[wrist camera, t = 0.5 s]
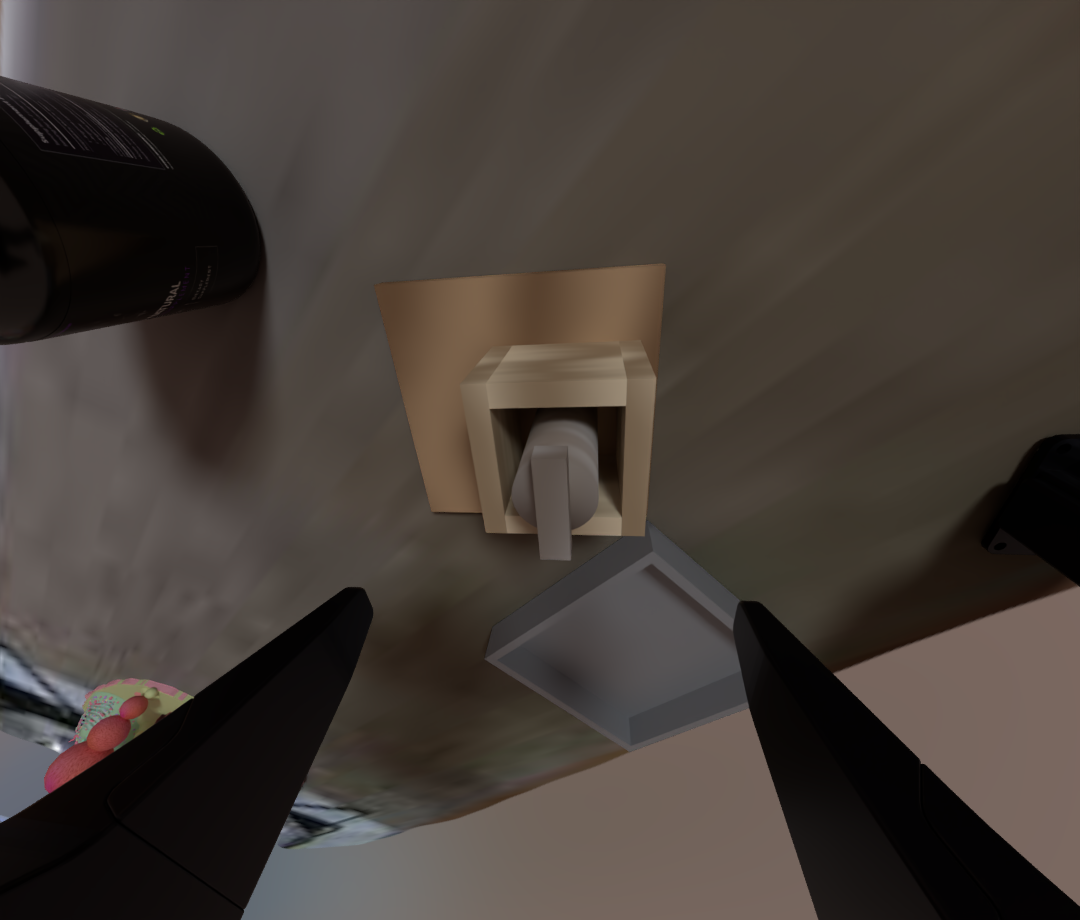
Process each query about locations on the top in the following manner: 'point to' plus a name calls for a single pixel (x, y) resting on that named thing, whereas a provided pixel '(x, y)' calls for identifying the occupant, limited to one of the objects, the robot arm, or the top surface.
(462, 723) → the top surface
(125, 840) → the robot arm
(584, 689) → the slate tray
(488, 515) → the hollow wooden box
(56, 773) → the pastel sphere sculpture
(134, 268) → the supplement bottle
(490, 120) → the top surface
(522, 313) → the stake block
